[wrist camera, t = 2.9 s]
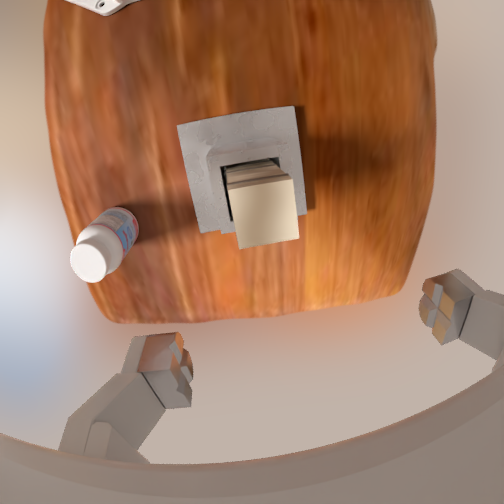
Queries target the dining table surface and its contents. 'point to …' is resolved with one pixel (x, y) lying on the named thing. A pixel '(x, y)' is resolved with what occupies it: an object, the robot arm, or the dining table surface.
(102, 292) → the dining table surface
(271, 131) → the sleeve
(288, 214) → the post
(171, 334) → the robot arm
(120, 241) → the pill bottle
